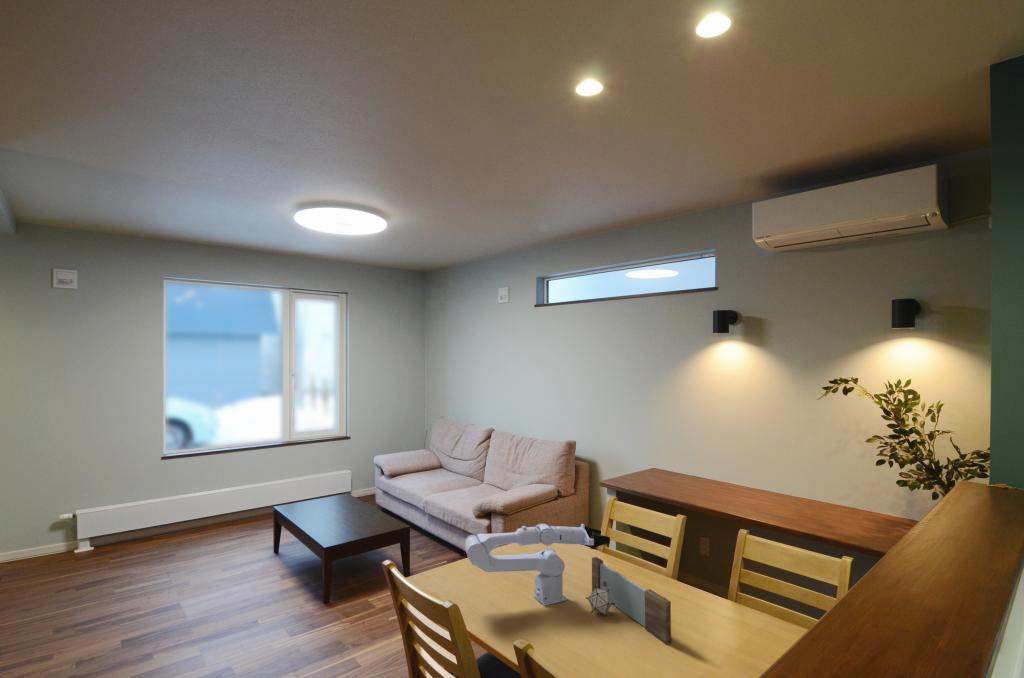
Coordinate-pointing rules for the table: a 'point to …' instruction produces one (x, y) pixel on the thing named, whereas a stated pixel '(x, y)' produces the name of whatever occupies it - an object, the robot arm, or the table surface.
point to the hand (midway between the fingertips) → (604, 536)
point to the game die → (600, 601)
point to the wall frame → (646, 608)
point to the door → (624, 593)
